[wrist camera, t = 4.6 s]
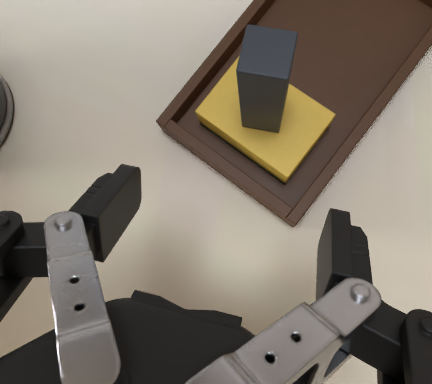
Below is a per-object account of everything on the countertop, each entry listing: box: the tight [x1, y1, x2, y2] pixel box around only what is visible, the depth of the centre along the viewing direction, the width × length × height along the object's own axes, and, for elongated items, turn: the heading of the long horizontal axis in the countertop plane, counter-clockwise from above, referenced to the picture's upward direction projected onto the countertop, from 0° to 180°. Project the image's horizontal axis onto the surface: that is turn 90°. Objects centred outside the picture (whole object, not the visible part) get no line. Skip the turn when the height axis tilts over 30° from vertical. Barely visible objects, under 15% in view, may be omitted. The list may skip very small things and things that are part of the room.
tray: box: [156, 0, 432, 227], centre depth 29 cm, size 13×21×2 cm, turn 142°
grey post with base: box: [195, 24, 336, 185], centre depth 24 cm, size 8×6×11 cm
